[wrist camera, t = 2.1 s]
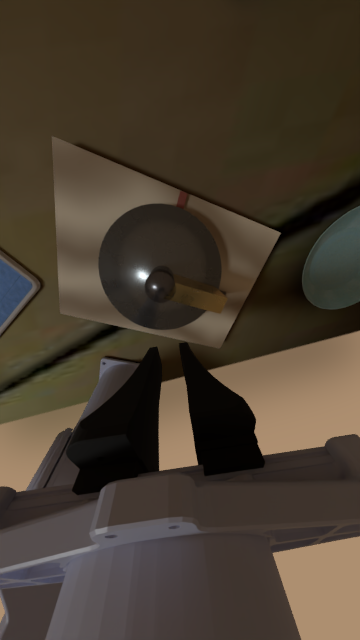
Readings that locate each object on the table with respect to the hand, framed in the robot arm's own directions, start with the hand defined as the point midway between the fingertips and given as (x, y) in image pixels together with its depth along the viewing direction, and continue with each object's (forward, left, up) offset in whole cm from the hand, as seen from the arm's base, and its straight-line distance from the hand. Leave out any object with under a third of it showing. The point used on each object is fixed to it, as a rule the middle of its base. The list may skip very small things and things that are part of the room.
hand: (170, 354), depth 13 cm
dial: (+4, +2, -8) cm, 9 cm away
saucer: (+12, -19, -10) cm, 25 cm away
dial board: (+4, +2, -9) cm, 11 cm away
